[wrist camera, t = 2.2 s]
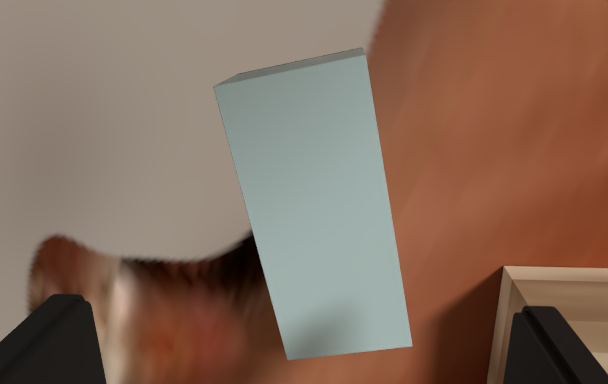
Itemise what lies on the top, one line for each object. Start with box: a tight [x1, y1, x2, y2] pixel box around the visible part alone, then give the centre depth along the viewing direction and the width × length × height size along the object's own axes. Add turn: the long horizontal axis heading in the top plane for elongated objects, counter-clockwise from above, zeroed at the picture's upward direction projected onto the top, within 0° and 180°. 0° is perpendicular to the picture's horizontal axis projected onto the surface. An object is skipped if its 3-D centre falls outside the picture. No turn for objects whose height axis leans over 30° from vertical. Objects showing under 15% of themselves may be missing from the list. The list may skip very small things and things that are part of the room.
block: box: [214, 47, 412, 360], centre depth 17 cm, size 10×4×4 cm, turn 12°
